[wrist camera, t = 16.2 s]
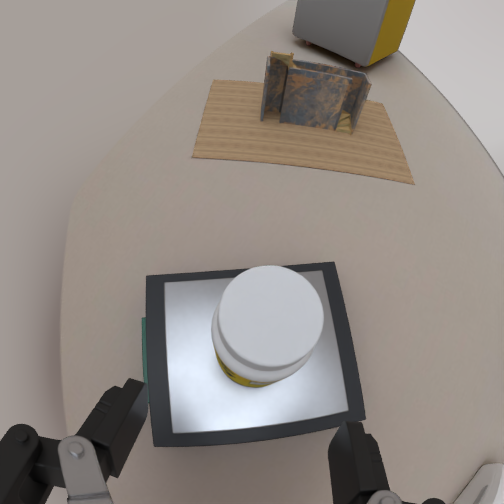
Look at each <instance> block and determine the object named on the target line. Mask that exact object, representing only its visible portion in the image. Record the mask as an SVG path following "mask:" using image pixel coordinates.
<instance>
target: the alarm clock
mask: <svg viewBox="0 0 504 504" xmlns="http://www.w3.org/2000/svg"><path fill="white" fill-rule="evenodd" d="M414 3H415V0H298V2H297V7H296V13H295V19H294V25H293V31H292V32H293V35H294V36H296V37H298V38H301V39H303V40H306V45H311V43H313V44H316V45H318V46H321V47H323V48H325V49H328V50H330V51H332V52H334V53H337V54H339V55H341V56H343V57H345V58H347V59H350V60H352V61H354V62H355V67H357V68H359V67H360V66H361V65H362V66H369V65H371V64H373V63H375V62H377V61H379V60H380V59H382V58H384V57H386V56H388V55H390V54H392V53H394V52H396V51H397V50H398V48H399V46H400V43H401V40H402V38H403V35H404V32H405V30H406V27H407V24H408V21H409V18H410V15H411V12H412V9H413V6H414Z"/></svg>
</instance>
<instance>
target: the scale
mask: <svg viewBox="0 0 504 504" xmlns="http://www.w3.org/2000/svg"><path fill="white" fill-rule="evenodd" d="M281 267H285V268H288V269H290V270H293V271H295V272H308V271H319V270H322V272H323V277H324V281H325V286H326V290H327V295H328V300H329V304H330V309H331V314H332V319H333V324H334V329H335V334H336V339H337V344H338V349H339V355H340V360H341V366H342V371H343V377H344V383H345V389H346V395H347V402H348V408H349V411H347V412H342V413H338V414H334V415H329V416H325V417H320V418H315V419H310V420H304V421H299V422H293V423H287V424H281V425H274V426H267V427H259V428H251V429H242V430H231V431H219V432H203V433H173V432H172V423H171V413H170V402H169V390H168V377H167V361H166V342H165V313H164V283H165V282H179V281H194V280H209V279H223V278H235V277H237V276H238V275H239V274H241V273H242V272H244V271H246V270H248V269H236V270H223V271H209V272H195V273H180V274H165V275H149V276H146V317H145V318H142V355H143V377H144V383H147V385H148V403H149V404H150V415H151V426H152V435H153V444H154V447H191V446H212V445H226V444H237V443H247V442H256V441H264V440H271V439H278V438H284V437H290V436H296V435H301V434H306V433H311V432H316V431H321V430H326V429H330V428H334V427H339V426H340V425H341V423H342V422H343V421H352V422H358V421H362V420H365V419H366V416H365V409H364V403H363V396H362V390H361V384H360V379H359V373H358V367H357V362H356V357H355V352H354V346H353V341H352V337H351V332H350V327H349V322H348V318H347V313H346V308H345V304H344V300H343V295H342V291H341V287H340V283H339V278H338V274H337V270H336V266H335V262H324V263H312V264H300V265H288V266H281ZM250 269H251V268H250Z"/></svg>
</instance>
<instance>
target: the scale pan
mask: <svg viewBox="0 0 504 504" xmlns="http://www.w3.org/2000/svg"><path fill="white" fill-rule="evenodd" d="M297 273H298V274H300V275H301V276H303V277H304V278H305V279H306V280H307V281H308V282H309V283H310V284H311V285H312V286H313V287H314V289H315V290H316V292H317V294H318V295H319V298H320V300H321V303H322V306H323V312H324V322H323V329H322V332H321V335H320V338H319V340H318V342H317V343H316V345H315V347H314V350H313V352H312V354H311V356H310V358H309V359H308V361H307V362H306V363H305V365H304V366H303V367H302V368H301V369H300V370H298V371H297V372H296V373H294V374H293V375H291V376H289V377H287V378H285V379H283V380H281V381H278V382H276V383H273V384H271V385H268V386H265V387H259V388H251V387H246V386H242V385H239V384H237V383H235V382H234V381H232V380H231V379H230V378H228V377H227V376H226V374H225V373H224V372H223V371H222V369H221V367H220V365H219V363H218V361H217V358H216V353H215V349H214V346H213V341H212V334H211V326H212V318H213V315H214V312H215V309H216V307H217V305H218V303H219V302H220V299H221V297H222V294H223V292H224V291H225V289H226V287H227V286H228V285H229V284H230V282H231V281H232V280H233V279H234V278H223V279H209V280H194V281H179V282H165V283H164V313H165V342H166V361H167V377H168V390H169V402H170V413H171V423H172V432H173V433H203V432H219V431H231V430H242V429H251V428H259V427H267V426H274V425H281V424H287V423H293V422H299V421H304V420H310V419H315V418H320V417H325V416H329V415H334V414H338V413H342V412H347V411H349V408H348V402H347V395H346V389H345V383H344V377H343V371H342V366H341V360H340V355H339V349H338V344H337V339H336V334H335V329H334V324H333V319H332V314H331V309H330V304H329V300H328V295H327V290H326V286H325V281H324V277H323V272H322V270H319V271H308V272H297Z"/></svg>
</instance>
